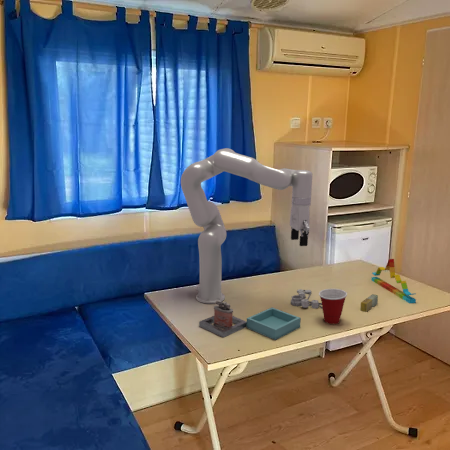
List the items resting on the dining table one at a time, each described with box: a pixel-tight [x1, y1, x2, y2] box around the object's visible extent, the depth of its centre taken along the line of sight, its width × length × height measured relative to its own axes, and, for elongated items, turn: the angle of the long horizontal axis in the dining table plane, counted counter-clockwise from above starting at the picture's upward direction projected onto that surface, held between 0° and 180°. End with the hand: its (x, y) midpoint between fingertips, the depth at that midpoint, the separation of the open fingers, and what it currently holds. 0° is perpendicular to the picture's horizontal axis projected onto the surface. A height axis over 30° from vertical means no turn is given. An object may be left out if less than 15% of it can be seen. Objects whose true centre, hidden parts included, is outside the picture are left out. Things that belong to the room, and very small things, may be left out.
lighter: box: [213, 301, 234, 330], centre depth 181 cm, size 8×3×10 cm, turn 58°
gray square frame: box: [198, 315, 247, 338], centre depth 182 cm, size 13×13×2 cm
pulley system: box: [290, 288, 323, 310], centre depth 207 cm, size 27×5×15 cm
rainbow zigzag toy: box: [370, 258, 417, 304], centre depth 220 cm, size 30×3×15 cm, turn 15°
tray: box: [246, 307, 301, 341], centre depth 182 cm, size 14×15×4 cm
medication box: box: [360, 294, 379, 313], centre depth 202 cm, size 12×3×4 cm, turn 141°
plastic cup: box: [318, 288, 348, 325], centre depth 187 cm, size 11×11×12 cm
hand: (298, 242), depth 195 cm, fingers open, 9 cm apart
